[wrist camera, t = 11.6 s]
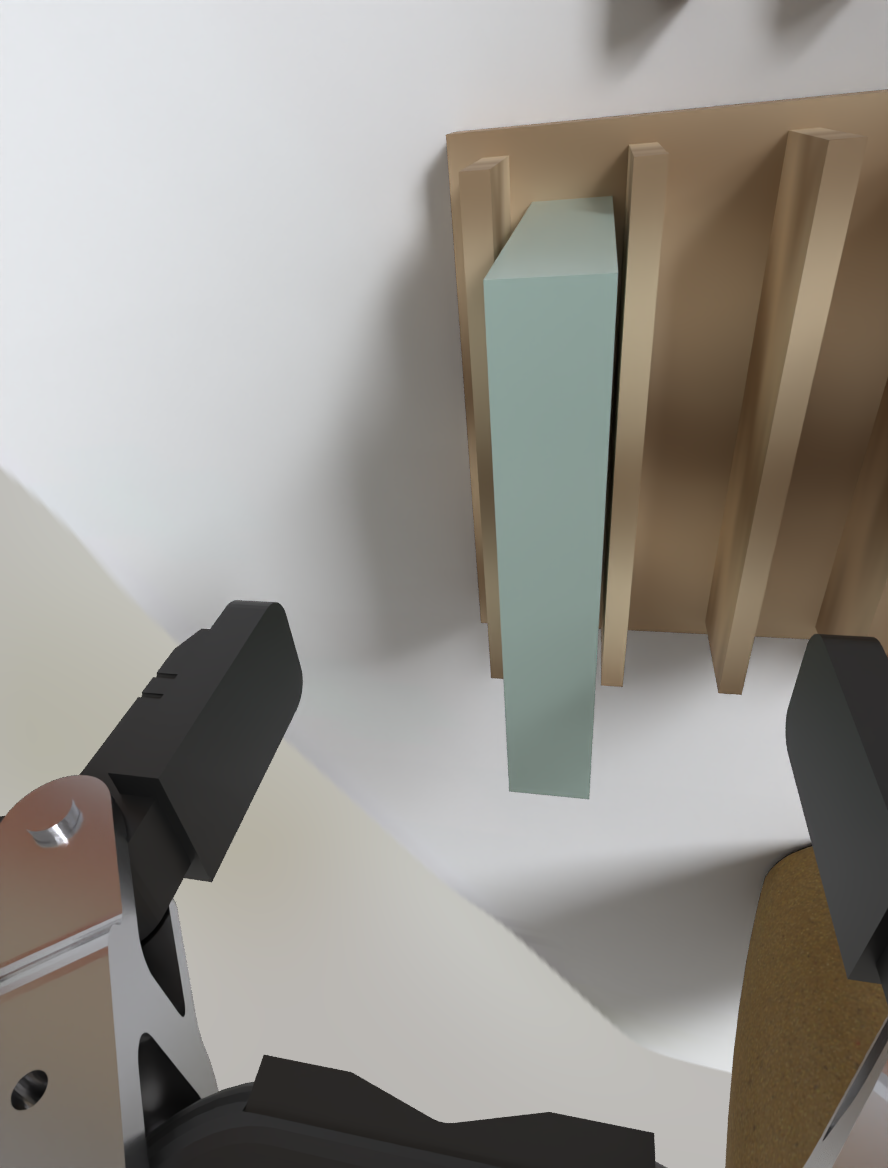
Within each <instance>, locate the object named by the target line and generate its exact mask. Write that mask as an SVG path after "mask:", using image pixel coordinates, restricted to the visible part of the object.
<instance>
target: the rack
mask: <svg viewBox="0 0 888 1168" xmlns="http://www.w3.org/2000/svg"><path fill="white" fill-rule="evenodd" d="M446 142H447V156H448V170H449V184H450V198H451V212H452V226H453V240H454V253H455V267H456V281H457V295H458V309H459V323H460V337H461V351H462V365H463V379H464V393H465V407H466V421H467V435H468V449H469V463H470V476H471V490H472V504H473V518H474V532H475V546H476V560H477V574H478V588H479V602H480V616H481V623H488V637H489V652H490V668H491V678H499V679H504V678H503V658H502V638H501V619H500V599H499V579H498V560H497V540H496V520H495V501H494V481H493V461H492V442H491V422H490V402H489V383H488V363H487V343H486V324H485V304H484V284H483V280H484V278H485V277H486V275H487V273H488V272H489V270H490V269H491V267H492V265H493V264H494V262H495V261H496V259H497V257H498V256H499V254H500V253H501V251H502V249H503V248H504V246H505V245H506V243H507V241H508V240H509V238H510V237H511V235H512V233H513V232H514V230H515V229H516V227H517V225H518V224H519V222H520V221H521V219H522V217H523V216H524V214H525V213H526V211H527V209H528V208H529V206H530V205H531V203H532V202H536V201H550V200H563V199H576V198H589V197H603V196H613V209H614V223H615V236H616V250H617V263H618V286H617V304H616V322H615V340H614V358H613V376H612V395H611V413H610V431H609V449H608V467H607V485H606V503H605V521H604V539H603V557H602V575H601V594H600V612H599V629H601V685H604V686H619V687H623V676H624V664H625V653H626V641H627V630H636V631H655V632H675V633H695V634H708V640H709V645H710V650H711V656H712V661H713V666H714V672H715V677H716V682H717V688H718V693H724V694H739V695H742V690H743V686H744V681H745V677H746V673H747V668H748V664H749V659H750V655H751V651H752V646H753V642H754V637H775V638H795V639H810V638H811V637H812V636H813V635H814V634H829V635H847V636H865V637H875V638H876V639H878V640H879V642H880V643H881V645H882V647H883V649H884V651H885V653H886V655H887V654H888V89H887V90H877V91H867V92H857V93H847V94H836V95H826V96H816V97H806V98H796V99H786V100H775V101H765V102H755V103H745V104H735V105H724V106H714V107H704V108H694V109H684V110H674V111H663V112H653V113H643V114H633V115H623V116H613V117H602V118H592V119H582V120H572V121H562V122H551V123H541V124H531V125H521V126H511V127H501V128H490V129H480V130H470V131H460V132H454V133H450V134H447V135H446Z"/></svg>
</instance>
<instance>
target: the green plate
mask: <svg viewBox="0 0 888 1168" xmlns="http://www.w3.org/2000/svg"><path fill="white" fill-rule="evenodd" d="M483 284H484V304H485V324H486V343H487V363H488V383H489V402H490V422H491V442H492V461H493V481H494V501H495V520H496V540H497V560H498V579H499V599H500V619H501V638H502V658H503V678H504V698H505V717H506V737H507V757H508V776H509V791H511V792H521V793H531V794H541V795H551V796H561V797H571V798H581V799H589V793H590V774H591V756H592V738H593V720H594V702H595V684H596V666H597V648H598V630H599V612H600V594H601V575H602V557H603V539H604V521H605V503H606V485H607V467H608V449H609V431H610V413H611V395H612V376H613V358H614V340H615V322H616V304H617V286H618V263H617V250H616V236H615V223H614V209H613V196H603V197H589V198H576V199H563V200H550V201H536V202H532V203H531V205H530V206H529V208H528V209H527V211H526V213H525V214H524V216H523V217H522V219H521V221H520V222H519V224H518V225H517V227H516V229H515V230H514V232H513V233H512V235H511V237H510V238H509V240H508V241H507V243H506V245H505V246H504V248H503V249H502V251H501V253H500V254H499V256H498V257H497V259H496V261H495V262H494V264H493V265H492V267H491V269H490V270H489V272H488V273H487V275H486V277H485V278H484V280H483Z"/></svg>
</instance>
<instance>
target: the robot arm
mask: <svg viewBox="0 0 888 1168" xmlns="http://www.w3.org/2000/svg"><path fill="white" fill-rule="evenodd" d="M302 685H303V677H302V670H301V666H300V662H299V659H298V655H297V652H296V648H295V645H294V641H293V638H292V634H291V631H290V627H289V623H288V620H287V616H286V613H285V610H284V608H283V607H282V605H281V604H279V603H277V602H260V601H242V600H234V601H232V602H231V603H229V604H228V605H227V607H226V608H225V609H224V611H223V612H222V614H221V615H220V616H219V618H218V619H217V620H216V622H215V623H214V625H213V626H212V627H211V629H201V630H199V631H198V632H197V633H195V634H194V635H193V636H191V637H190V638H189V639H187V640H186V641H185V642H183V643H182V644H181V645H179V646H178V647H176V648H175V649H174V650H173V652H172V653H171V654H170V656H169V657H168V658H167V660H166V661H165V662H164V664H163V665H162V666H161V668H160V669H159V670H158V672H157V677H156V678H155V677H153V678H152V680H151V681H150V682H149V684H148V685H147V686H146V688H145V689H144V690H143V692H142V697H141V698H140V697H139V698H137V700H136V701H135V702H134V704H133V705H132V706H131V708H130V709H129V710H128V711H127V713H126V714H125V715H124V717H123V718H122V719H121V721H120V722H119V724H118V725H117V726H116V728H115V729H114V730H113V731H112V733H111V734H110V736H109V737H108V738H107V739H106V741H105V742H104V743H103V745H102V746H101V748H100V749H99V750H98V751H97V753H96V754H95V755H94V757H93V758H92V759H91V761H90V762H89V763H88V765H87V766H86V767H85V769H84V770H83V771H82V772H81V773H80V775H74V776H67V777H63V778H59V779H56V780H53V781H51V782H49V783H46V784H44V785H42V786H40V787H39V788H37V789H35V790H33V791H32V792H31V793H29V794H28V795H26V796H25V797H24V798H23V799H21V800H20V801H19V802H18V803H16V805H15V806H14V807H13V808H12V809H11V810H10V811H9V812H8V813H7V815H6V816H2V817H0V1168H666V1167H664V1166H663V1165H661V1164H659V1163H657V1162H656V1161H655V1146H654V1133H651V1132H646V1131H641V1130H636V1129H631V1128H626V1127H621V1126H616V1125H611V1124H606V1123H601V1122H596V1121H591V1120H586V1119H581V1118H576V1117H572V1116H566V1115H562V1114H557V1113H552V1112H546V1113H537V1114H529V1115H520V1116H511V1117H502V1118H494V1119H485V1120H476V1121H468V1122H459V1123H443V1122H438V1121H436V1120H434V1119H432V1118H430V1117H428V1116H427V1115H425V1114H423V1113H421V1112H420V1111H418V1110H416V1109H415V1108H413V1107H411V1106H409V1105H408V1104H406V1103H404V1102H402V1101H401V1100H399V1099H397V1098H395V1097H394V1096H392V1095H390V1094H388V1093H387V1092H385V1091H383V1090H381V1089H380V1088H378V1087H376V1086H374V1085H372V1084H371V1083H369V1082H367V1081H366V1080H364V1079H362V1078H360V1077H359V1076H357V1075H355V1074H354V1073H351V1072H348V1071H343V1070H337V1069H333V1068H327V1067H322V1066H318V1065H312V1064H307V1063H302V1062H298V1061H293V1060H287V1059H282V1058H277V1057H273V1056H268V1055H264V1056H263V1059H262V1062H261V1065H260V1067H259V1070H258V1073H257V1076H256V1079H255V1082H250V1083H245V1084H241V1085H238V1086H235V1087H231V1088H227V1089H224V1090H221V1091H218V1087H217V1083H216V1079H215V1075H214V1072H213V1069H212V1065H211V1062H210V1059H209V1057H208V1054H207V1052H206V1049H205V1047H204V1044H203V1041H202V1039H201V1035H200V1032H199V1028H198V1024H197V1019H196V1014H195V1008H194V1002H193V996H192V990H191V985H190V979H189V973H188V967H187V961H186V956H185V950H184V944H183V938H182V933H181V927H180V921H179V915H178V909H177V906H176V902H175V901H174V899H173V897H174V895H175V893H176V891H177V889H178V887H179V886H180V884H181V882H182V880H183V878H188V879H195V880H201V881H208V882H212V881H213V879H214V877H215V875H216V873H217V871H218V869H219V867H220V864H221V863H222V861H223V858H224V856H225V854H226V852H227V850H228V848H229V846H230V844H231V842H232V840H233V838H234V836H235V834H236V832H237V830H238V828H239V826H240V824H241V822H242V820H243V818H244V815H245V814H246V811H247V810H248V808H249V806H250V803H251V801H252V799H253V797H254V795H255V793H256V791H257V789H258V787H259V785H260V783H261V781H262V779H263V777H264V775H265V773H266V771H267V769H268V767H269V765H270V763H271V761H272V759H273V757H274V755H275V752H276V750H277V748H278V746H279V744H280V742H281V740H282V738H283V736H284V734H285V732H286V730H287V728H288V726H289V724H290V722H291V720H292V718H293V716H294V714H295V712H296V710H297V707H298V705H299V702H300V698H301V694H302ZM786 745H787V751H788V755H789V759H790V763H791V767H792V770H793V774H794V778H795V782H796V786H797V789H798V793H799V797H800V801H801V804H802V808H803V812H804V816H805V820H806V823H807V827H808V831H809V835H810V839H811V842H812V846H813V850H814V854H815V858H816V861H817V865H818V869H819V873H820V877H821V880H822V884H823V888H824V892H825V896H826V899H827V903H828V907H829V911H830V915H831V918H832V922H833V926H834V930H835V934H836V937H837V941H838V945H839V949H840V953H841V956H842V960H843V964H844V968H845V971H846V975H847V979H849V980H856V981H863V982H869V983H876V984H882V988H883V991H884V994H885V998H886V1001H887V1004H888V657H887V655H886V653H885V651H884V649H883V647H882V645H881V643H880V642H879V640H878V639H876V638H875V637H865V636H847V635H829V634H814V635H813V636H812V637H811V638H810V640H809V642H808V644H807V647H806V651H805V654H804V657H803V660H802V664H801V667H800V670H799V674H798V677H797V680H796V683H795V687H794V690H793V693H792V697H791V700H790V703H789V707H788V710H787V716H786ZM803 1168H888V1016H887V1018H886V1019H885V1021H884V1022H883V1024H882V1026H881V1028H880V1030H879V1032H878V1033H877V1035H876V1037H875V1039H874V1041H873V1043H872V1044H871V1046H870V1048H869V1050H868V1052H867V1053H866V1055H865V1057H864V1059H863V1061H862V1063H861V1064H860V1066H859V1068H858V1070H857V1072H856V1074H855V1075H854V1077H853V1079H852V1081H851V1083H850V1085H849V1086H848V1088H847V1090H846V1092H845V1094H844V1096H843V1097H842V1099H841V1101H840V1103H839V1105H838V1106H837V1108H836V1110H835V1112H834V1114H833V1116H832V1117H831V1119H830V1121H829V1123H828V1125H827V1127H826V1128H825V1130H824V1132H823V1134H822V1136H821V1138H820V1139H819V1141H818V1143H817V1145H816V1147H815V1148H814V1150H813V1152H812V1153H811V1155H810V1157H809V1159H808V1160H807V1162H806V1164H805V1165H804V1167H803Z"/></svg>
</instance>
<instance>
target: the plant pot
mask: <svg viewBox="0 0 888 1168" xmlns="http://www.w3.org/2000/svg"><path fill="white" fill-rule="evenodd" d="M887 1016H888V1004H887V1001H886V998H885V994H884V991H883V988H882V984H876V983H869V982H863V981H856V980H849V979H847V975H846V971H845V968H844V964H843V960H842V956H841V953H840V949H839V945H838V941H837V937H836V934H835V930H834V926H833V922H832V918H831V915H830V911H829V907H828V903H827V899H826V896H825V892H824V888H823V884H822V880H821V877H820V873H819V869H818V865H817V861H816V858H815V854H814V850H813V846H811V847H807V848H805V849H802V850H800V851H797V852H795V853H792V854H790V855H788V856H787V857H785V858H784V859H782V860H781V861H779V862H778V863H777V864H776V865H775V866H774V867H773V868H772V869H771V870H770V871H769V873H768V874H767V876H766V877H765V880H764V883H763V887H762V890H761V894H760V898H759V902H758V906H757V911H756V916H755V920H754V925H753V930H752V934H751V939H750V944H749V950H748V955H747V961H746V967H745V973H744V980H743V986H742V992H741V999H740V1005H739V1013H738V1021H737V1029H736V1038H735V1046H734V1055H733V1067H732V1080H731V1091H730V1102H729V1103H730V1104H729V1115H728V1131H727V1148H726V1167H725V1168H803V1167H804V1165H805V1164H806V1162H807V1160H808V1159H809V1157H810V1155H811V1153H812V1152H813V1150H814V1148H815V1147H816V1145H817V1143H818V1141H819V1139H820V1138H821V1136H822V1134H823V1132H824V1130H825V1128H826V1127H827V1125H828V1123H829V1121H830V1119H831V1117H832V1116H833V1114H834V1112H835V1110H836V1108H837V1106H838V1105H839V1103H840V1101H841V1099H842V1097H843V1096H844V1094H845V1092H846V1090H847V1088H848V1086H849V1085H850V1083H851V1081H852V1079H853V1077H854V1075H855V1074H856V1072H857V1070H858V1068H859V1066H860V1064H861V1063H862V1061H863V1059H864V1057H865V1055H866V1053H867V1052H868V1050H869V1048H870V1046H871V1044H872V1043H873V1041H874V1039H875V1037H876V1035H877V1033H878V1032H879V1030H880V1028H881V1026H882V1024H883V1022H884V1021H885V1019H886V1018H887Z"/></svg>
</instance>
